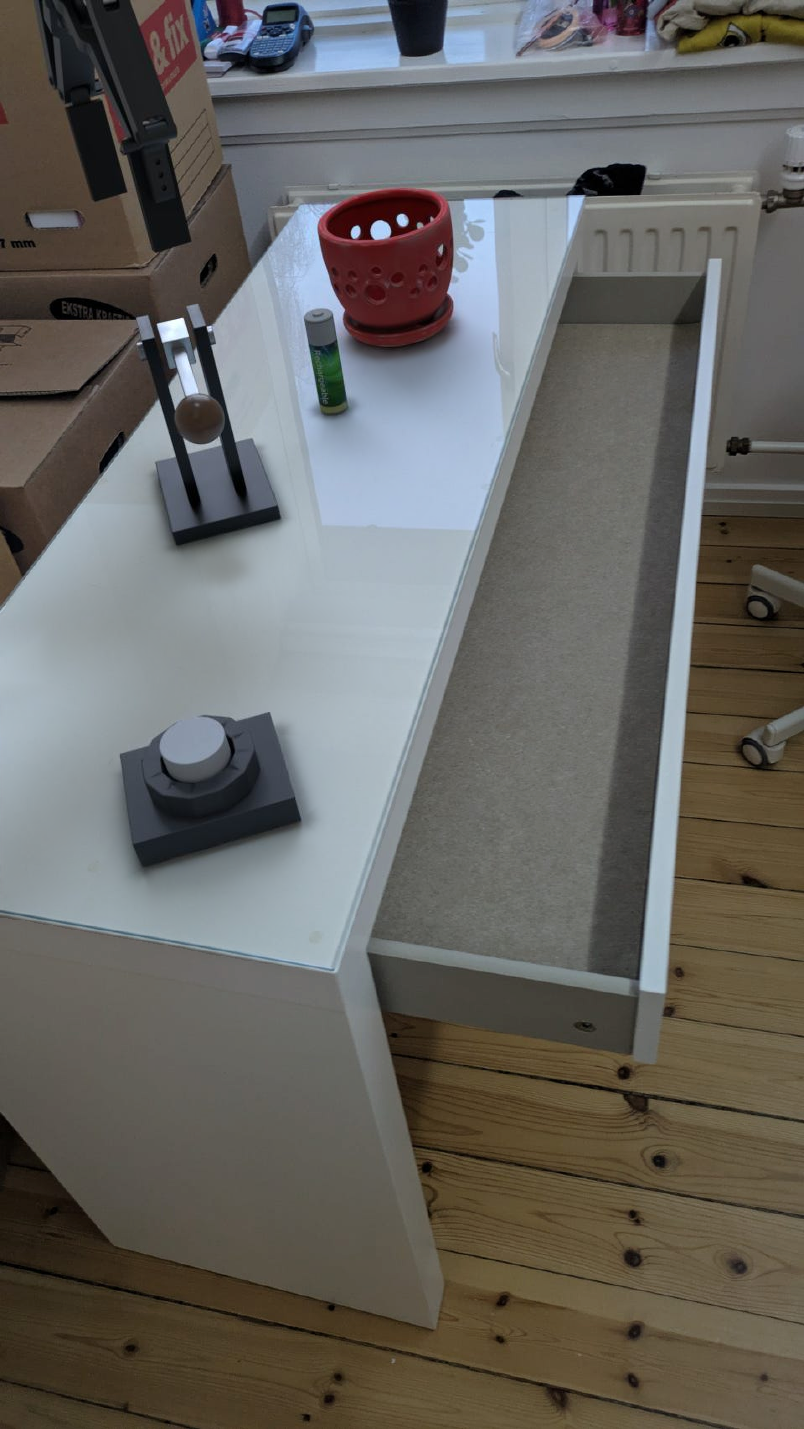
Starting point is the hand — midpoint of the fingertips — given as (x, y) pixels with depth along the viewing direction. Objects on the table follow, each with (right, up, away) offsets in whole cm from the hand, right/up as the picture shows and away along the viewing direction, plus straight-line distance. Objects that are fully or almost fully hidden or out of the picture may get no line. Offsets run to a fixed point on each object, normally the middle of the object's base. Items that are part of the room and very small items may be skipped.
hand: (139, 220), depth 80 cm
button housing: (+7, -42, -11) cm, 44 cm away
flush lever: (+3, -12, +3) cm, 13 cm away
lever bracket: (+3, -17, +15) cm, 23 cm away
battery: (+13, -7, +24) cm, 28 cm away
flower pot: (+19, +4, +34) cm, 39 cm away
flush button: (+7, -39, -13) cm, 42 cm away
